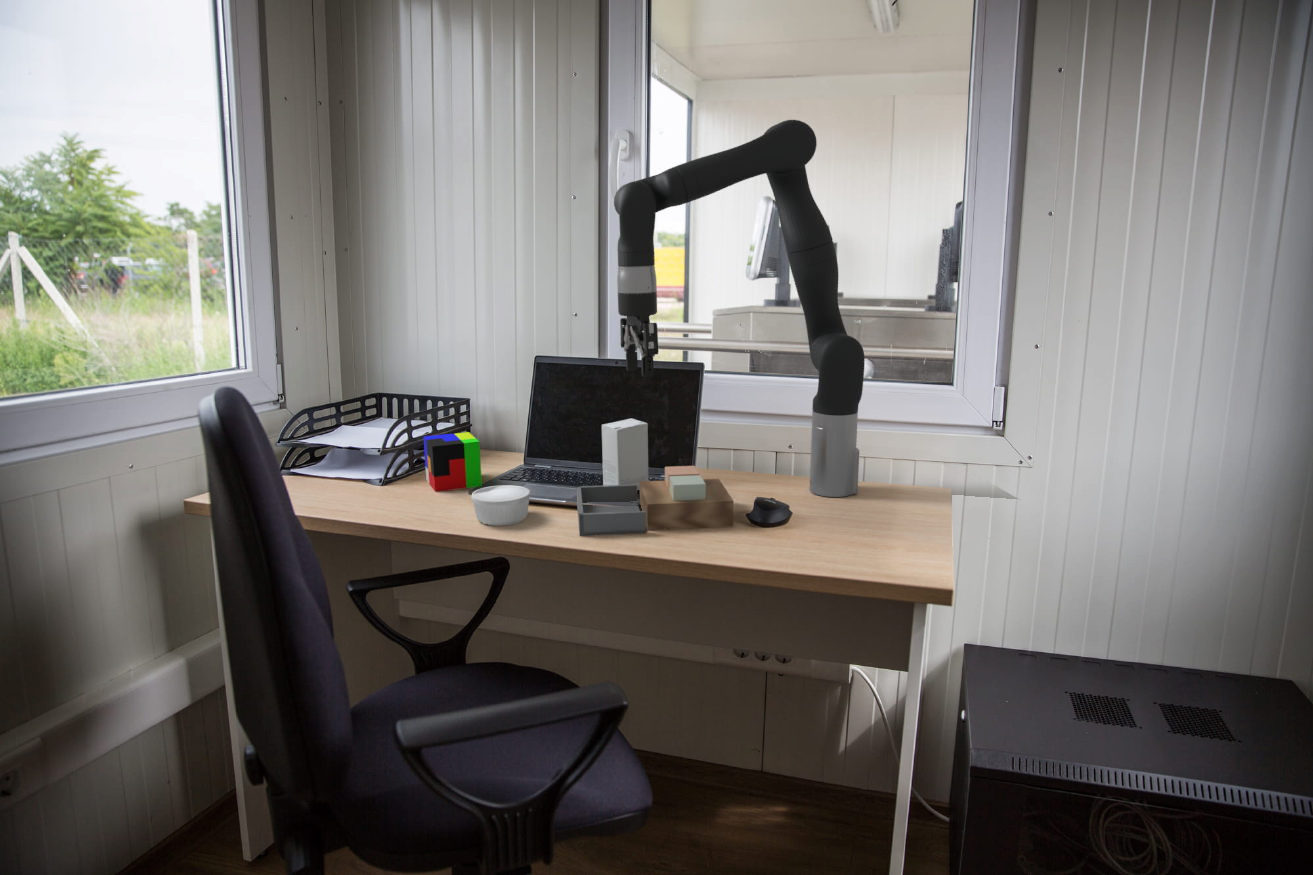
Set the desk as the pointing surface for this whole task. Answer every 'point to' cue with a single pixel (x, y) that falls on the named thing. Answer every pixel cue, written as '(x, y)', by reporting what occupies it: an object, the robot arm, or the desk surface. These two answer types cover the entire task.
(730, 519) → the wooden riser block
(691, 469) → the terracotta tile
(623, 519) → the box
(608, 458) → the skincare box
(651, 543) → the desk surface
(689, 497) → the sage tile
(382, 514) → the desk surface
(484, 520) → the ramekin
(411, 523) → the desk surface
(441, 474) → the puzzle toy
